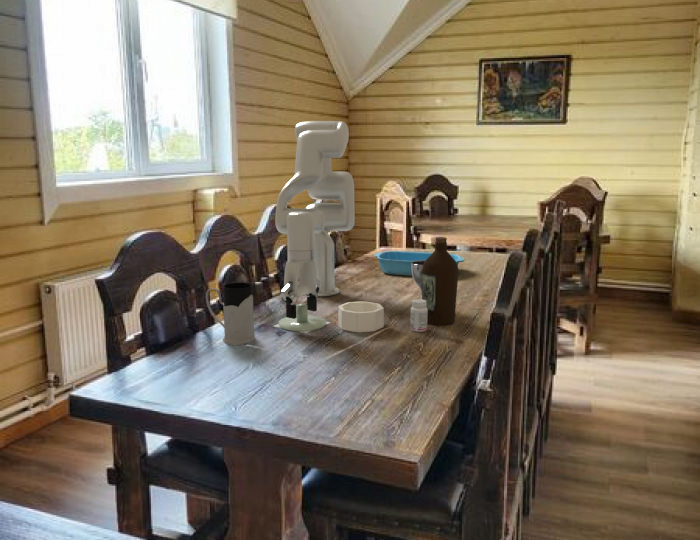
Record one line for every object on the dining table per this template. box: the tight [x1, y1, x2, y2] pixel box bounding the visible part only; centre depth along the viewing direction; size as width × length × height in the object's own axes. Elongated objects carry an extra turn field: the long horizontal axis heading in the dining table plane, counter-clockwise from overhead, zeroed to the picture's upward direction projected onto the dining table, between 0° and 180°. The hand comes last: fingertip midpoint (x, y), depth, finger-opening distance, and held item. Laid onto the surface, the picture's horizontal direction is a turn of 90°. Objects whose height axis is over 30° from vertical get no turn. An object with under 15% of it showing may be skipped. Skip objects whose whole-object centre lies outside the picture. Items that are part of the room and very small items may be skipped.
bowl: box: [337, 300, 385, 333], centre depth 176 cm, size 12×12×6 cm
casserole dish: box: [374, 250, 466, 277], centre depth 252 cm, size 37×22×7 cm, turn 76°
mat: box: [273, 321, 332, 334], centre depth 178 cm, size 12×12×1 cm
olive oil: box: [422, 236, 460, 326], centre depth 181 cm, size 11×11×25 cm
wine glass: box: [411, 260, 425, 300], centre depth 195 cm, size 8×8×15 cm
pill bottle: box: [409, 298, 428, 333], centre depth 174 cm, size 5×5×8 cm
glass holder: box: [205, 282, 257, 346], centre depth 165 cm, size 9×14×15 cm, turn 70°
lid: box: [278, 302, 327, 332], centre depth 177 cm, size 14×14×6 cm
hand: (301, 314), depth 177 cm, fingers open, 9 cm apart
